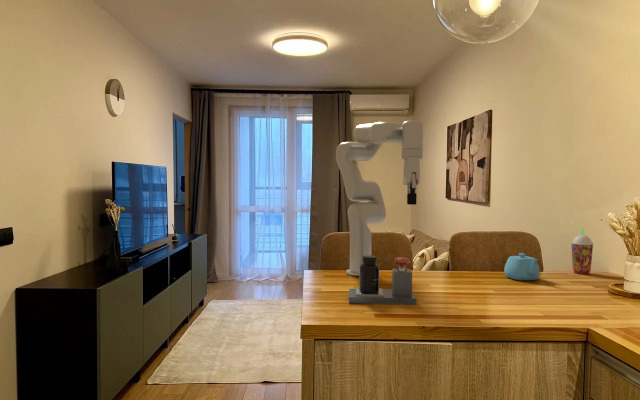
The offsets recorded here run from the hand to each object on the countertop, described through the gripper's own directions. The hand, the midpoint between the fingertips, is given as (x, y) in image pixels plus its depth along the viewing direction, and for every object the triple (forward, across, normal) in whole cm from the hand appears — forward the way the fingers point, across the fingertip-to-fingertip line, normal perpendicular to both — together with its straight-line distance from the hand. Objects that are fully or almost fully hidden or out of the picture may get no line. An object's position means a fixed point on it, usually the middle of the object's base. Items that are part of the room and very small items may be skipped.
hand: (411, 204), depth 156 cm
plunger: (+30, +13, -5) cm, 33 cm away
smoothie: (+32, -38, +81) cm, 95 cm away
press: (+32, +13, -12) cm, 37 cm away
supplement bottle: (+30, +13, -16) cm, 36 cm away
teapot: (+32, -24, +50) cm, 64 cm away
